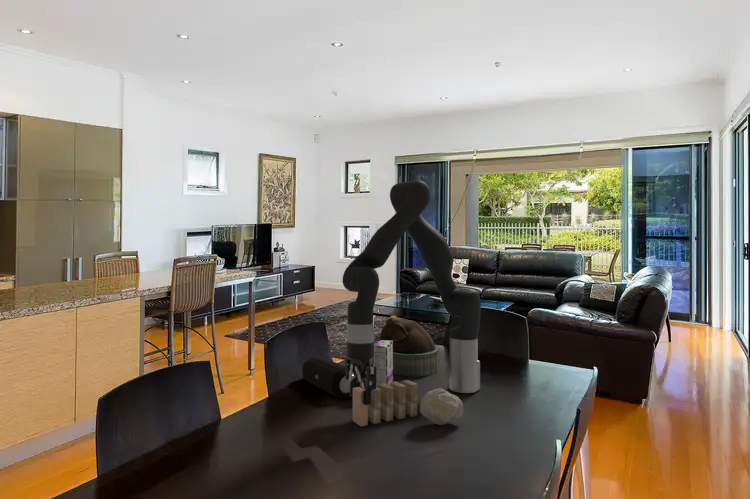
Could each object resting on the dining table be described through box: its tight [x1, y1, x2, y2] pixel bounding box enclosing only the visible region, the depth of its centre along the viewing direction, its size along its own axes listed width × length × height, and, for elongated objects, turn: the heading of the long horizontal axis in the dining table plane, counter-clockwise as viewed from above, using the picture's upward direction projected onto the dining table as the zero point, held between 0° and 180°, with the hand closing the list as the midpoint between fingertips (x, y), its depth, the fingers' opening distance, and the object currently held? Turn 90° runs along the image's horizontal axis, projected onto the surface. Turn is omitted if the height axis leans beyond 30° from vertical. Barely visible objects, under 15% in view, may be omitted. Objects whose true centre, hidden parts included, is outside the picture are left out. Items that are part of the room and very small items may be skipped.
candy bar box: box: [372, 340, 394, 388], centre depth 161 cm, size 11×5×16 cm, turn 168°
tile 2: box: [390, 381, 406, 420], centre depth 138 cm, size 2×5×9 cm, turn 29°
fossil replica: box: [419, 388, 465, 426], centre depth 130 cm, size 12×8×10 cm
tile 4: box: [368, 387, 382, 425], centre depth 134 cm, size 2×5×9 cm, turn 29°
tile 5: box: [352, 386, 369, 427], centre depth 132 cm, size 2×5×9 cm, turn 29°
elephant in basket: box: [379, 315, 441, 377], centre depth 187 cm, size 23×25×22 cm
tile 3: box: [378, 383, 394, 422], centre depth 136 cm, size 2×5×9 cm, turn 29°
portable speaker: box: [301, 355, 361, 400], centre depth 163 cm, size 26×10×10 cm, turn 34°
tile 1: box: [401, 379, 418, 418], centre depth 140 cm, size 2×5×9 cm, turn 29°
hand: (360, 400), depth 132 cm, fingers open, 7 cm apart
